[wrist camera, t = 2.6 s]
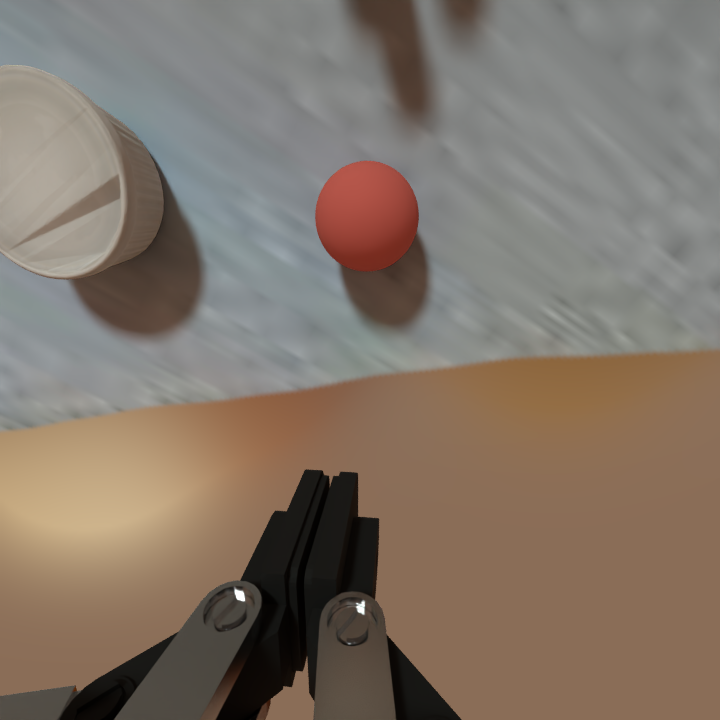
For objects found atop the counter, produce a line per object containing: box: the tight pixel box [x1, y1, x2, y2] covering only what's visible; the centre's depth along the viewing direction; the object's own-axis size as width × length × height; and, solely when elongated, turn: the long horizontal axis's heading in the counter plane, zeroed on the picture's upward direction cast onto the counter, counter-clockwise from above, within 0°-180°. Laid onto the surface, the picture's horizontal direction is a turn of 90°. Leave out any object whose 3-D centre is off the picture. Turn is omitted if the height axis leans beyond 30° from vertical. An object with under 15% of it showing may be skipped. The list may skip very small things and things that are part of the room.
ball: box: [315, 161, 419, 271], centre depth 22 cm, size 6×6×6 cm
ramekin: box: [0, 65, 164, 279], centre depth 24 cm, size 11×11×5 cm
